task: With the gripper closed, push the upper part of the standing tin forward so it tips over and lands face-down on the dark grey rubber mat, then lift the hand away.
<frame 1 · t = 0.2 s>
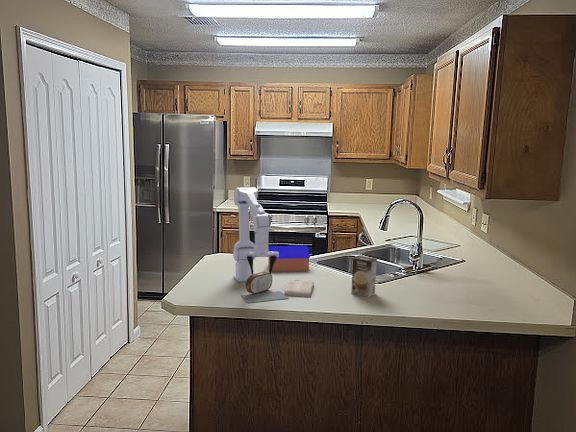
hand: (261, 273, 219), 10 cm above the worktop, tool pointing down, fingers open, 7 cm apart
tin: (259, 292, 225), on the worktop, touching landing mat
two-tone brick: (288, 268, 265), on the worktop
washcloth: (299, 291, 229), on the worktop
coffee box: (363, 293, 226), on the worktop
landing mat: (264, 297, 218), on the worktop
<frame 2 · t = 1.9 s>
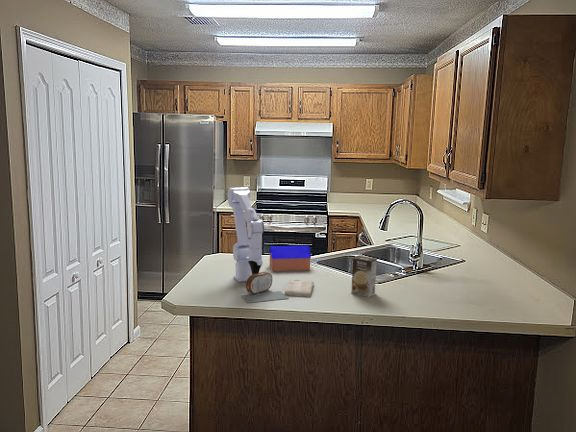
hand: (255, 276, 230), 5 cm above the worktop, tool pointing down, fingers closed
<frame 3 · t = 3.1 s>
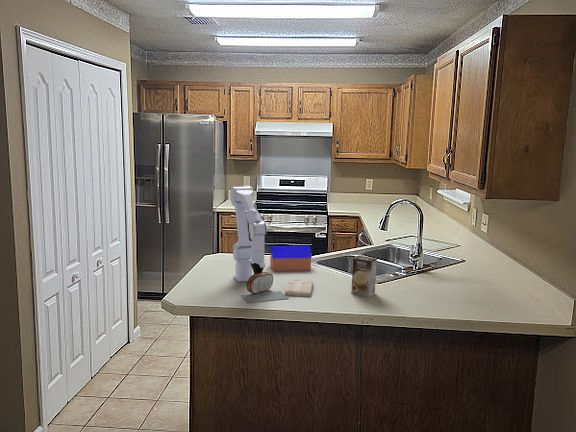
hand: (257, 279, 227), 5 cm above the worktop, tool pointing down, fingers closed
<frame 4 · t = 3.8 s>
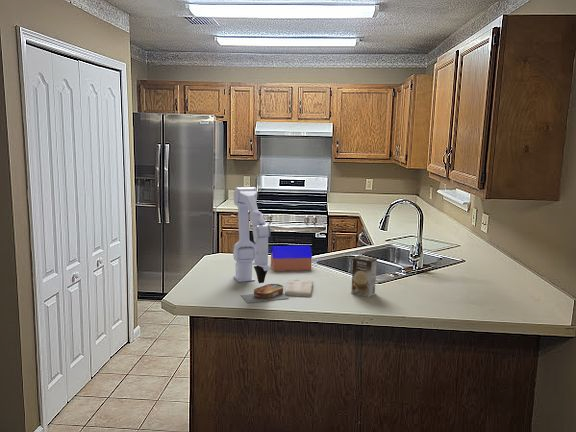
hand: (261, 282, 222), 5 cm above the worktop, tool pointing down, fingers closed
tin: (261, 289, 224), point 1 cm above the worktop, touching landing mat
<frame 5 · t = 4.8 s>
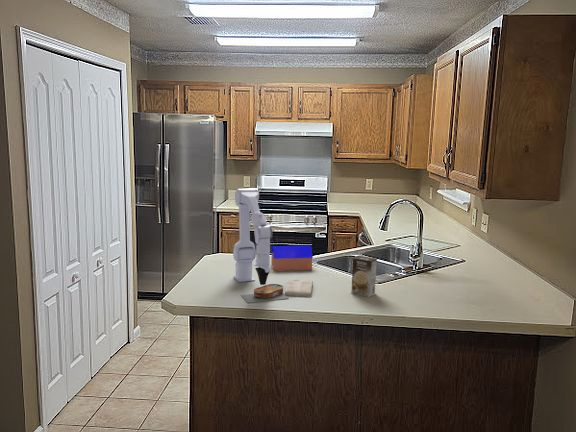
hand: (262, 284, 220), 5 cm above the worktop, tool pointing down, fingers closed
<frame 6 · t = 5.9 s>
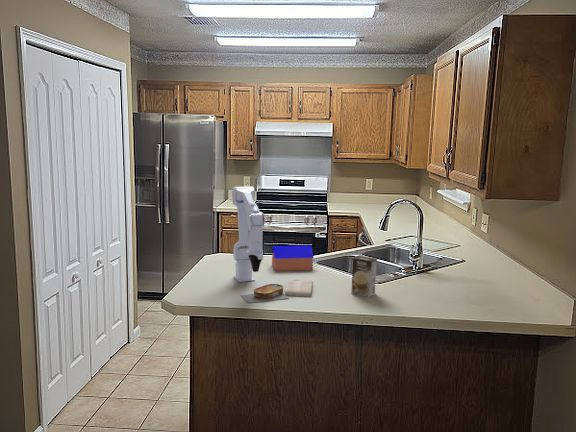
hand: (255, 271, 223), 10 cm above the worktop, tool pointing down, fingers closed
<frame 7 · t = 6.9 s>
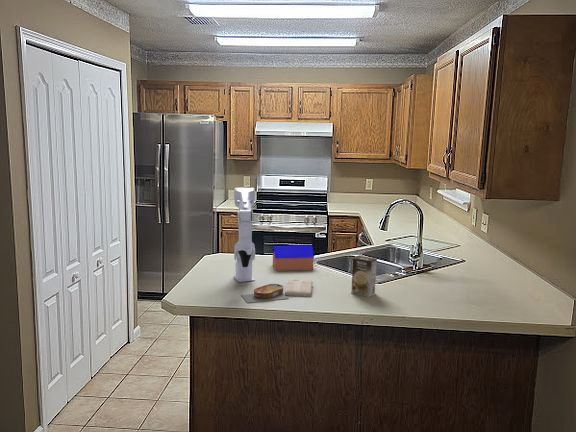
hand: (245, 266, 227), 10 cm above the worktop, tool pointing down, fingers closed
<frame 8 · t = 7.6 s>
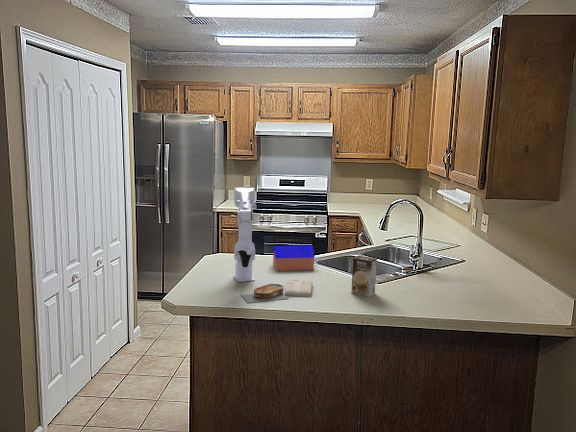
hand: (245, 266, 227), 10 cm above the worktop, tool pointing down, fingers closed
at the end: tin tilted 86°; tin touching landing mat; tin inside the target area (2.3 cm from its centre), point 1.3 cm above the worktop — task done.
